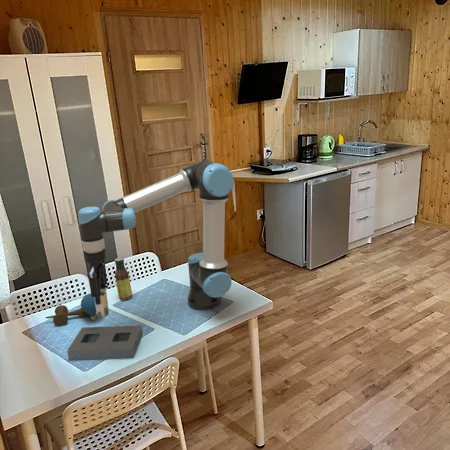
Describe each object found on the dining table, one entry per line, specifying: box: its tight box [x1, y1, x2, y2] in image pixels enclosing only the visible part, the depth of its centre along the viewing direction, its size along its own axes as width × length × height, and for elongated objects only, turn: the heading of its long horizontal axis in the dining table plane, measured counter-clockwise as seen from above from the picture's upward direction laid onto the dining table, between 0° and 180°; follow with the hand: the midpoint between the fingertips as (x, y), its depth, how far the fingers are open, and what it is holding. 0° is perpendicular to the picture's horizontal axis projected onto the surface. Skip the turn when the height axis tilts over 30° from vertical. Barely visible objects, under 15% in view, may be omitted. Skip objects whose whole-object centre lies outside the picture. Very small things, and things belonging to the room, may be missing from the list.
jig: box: [66, 324, 143, 361], centre depth 164 cm, size 24×16×4 cm, turn 89°
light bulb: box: [80, 293, 97, 321], centre depth 183 cm, size 8×8×12 cm
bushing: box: [96, 292, 110, 318], centre depth 161 cm, size 4×4×8 cm
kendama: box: [45, 304, 90, 327], centre depth 186 cm, size 6×10×20 cm
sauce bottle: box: [114, 257, 133, 302], centre depth 199 cm, size 6×6×20 cm
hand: (102, 307), depth 162 cm, fingers closed on bushing, 4 cm apart
